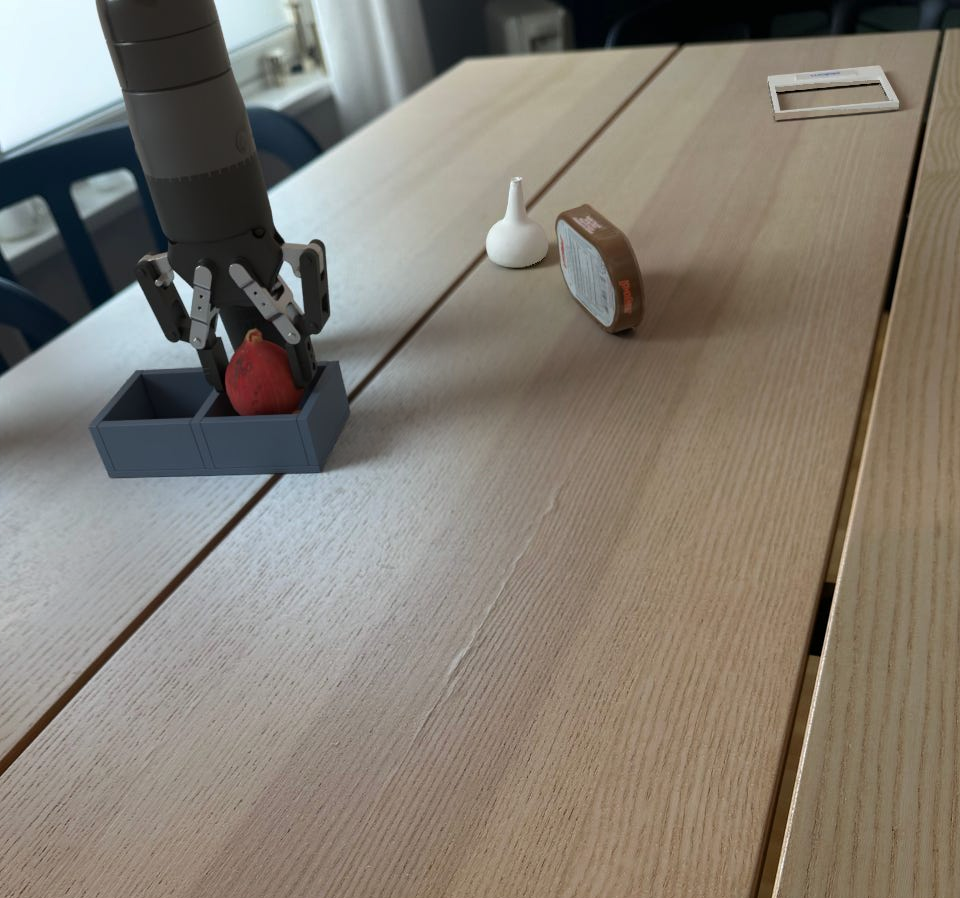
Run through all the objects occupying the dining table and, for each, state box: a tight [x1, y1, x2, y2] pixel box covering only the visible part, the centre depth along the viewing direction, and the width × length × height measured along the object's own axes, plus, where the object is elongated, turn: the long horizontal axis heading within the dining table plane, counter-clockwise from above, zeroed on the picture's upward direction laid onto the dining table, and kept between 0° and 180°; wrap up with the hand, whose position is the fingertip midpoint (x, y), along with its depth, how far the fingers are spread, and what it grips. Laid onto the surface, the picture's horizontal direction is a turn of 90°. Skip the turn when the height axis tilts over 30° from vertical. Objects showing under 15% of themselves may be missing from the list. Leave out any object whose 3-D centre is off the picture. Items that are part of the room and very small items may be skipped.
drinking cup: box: [218, 293, 287, 353], centre depth 86 cm, size 8×8×20 cm
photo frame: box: [767, 64, 900, 113], centre depth 132 cm, size 15×1×18 cm
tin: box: [554, 203, 646, 334], centre depth 89 cm, size 15×3×8 cm, turn 16°
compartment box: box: [87, 360, 351, 479], centre depth 80 cm, size 18×9×5 cm, turn 81°
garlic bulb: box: [485, 176, 549, 268], centre depth 101 cm, size 6×6×8 cm
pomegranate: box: [225, 328, 303, 416], centre depth 77 cm, size 6×6×8 cm
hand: (264, 385), depth 78 cm, fingers closed on pomegranate, 6 cm apart
